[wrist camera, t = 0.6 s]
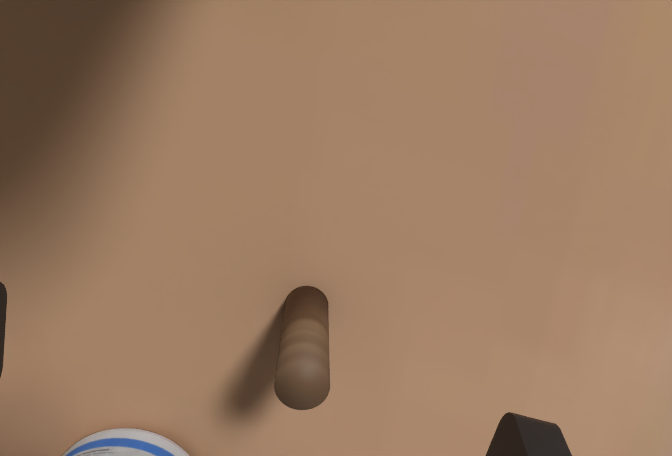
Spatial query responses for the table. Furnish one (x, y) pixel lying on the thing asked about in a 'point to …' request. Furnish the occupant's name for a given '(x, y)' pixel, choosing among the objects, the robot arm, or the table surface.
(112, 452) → the supplement tub
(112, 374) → the table surface
